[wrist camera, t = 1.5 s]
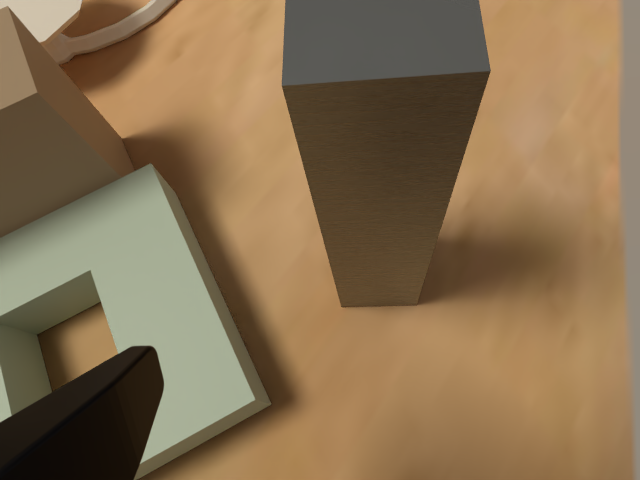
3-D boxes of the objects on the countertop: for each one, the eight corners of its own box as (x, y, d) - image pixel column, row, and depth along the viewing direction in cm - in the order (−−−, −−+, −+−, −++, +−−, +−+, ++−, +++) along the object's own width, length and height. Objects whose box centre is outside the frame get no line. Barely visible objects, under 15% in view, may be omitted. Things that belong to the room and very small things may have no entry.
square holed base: (271, 404, 20) (200, 383, 12) (-12, 562, 19) (-304, 659, 11) (145, 126, 27) (43, -11, 19) (-72, 232, 26) (-283, 137, 18)
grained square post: (416, 305, 21) (490, 71, 8) (341, 307, 22) (281, 85, 8) (411, 236, 23) (466, -72, 9) (340, 238, 23) (288, -54, 9)
